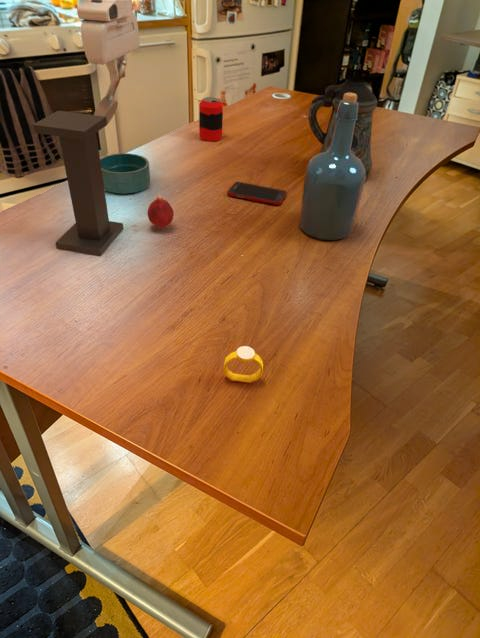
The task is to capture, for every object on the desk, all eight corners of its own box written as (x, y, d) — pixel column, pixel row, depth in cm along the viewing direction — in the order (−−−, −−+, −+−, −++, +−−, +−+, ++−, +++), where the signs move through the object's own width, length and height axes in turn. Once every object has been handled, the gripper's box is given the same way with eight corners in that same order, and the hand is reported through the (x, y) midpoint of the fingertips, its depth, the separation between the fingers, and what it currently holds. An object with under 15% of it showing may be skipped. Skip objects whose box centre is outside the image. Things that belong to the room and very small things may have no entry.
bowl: (91, 191, 119) (87, 168, 115) (112, 172, 129) (109, 150, 125) (139, 198, 117) (137, 176, 113) (157, 178, 127) (156, 157, 123)
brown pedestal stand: (56, 248, 98) (27, 127, 81) (83, 222, 107) (62, 108, 90) (100, 256, 96) (80, 134, 80) (123, 228, 105) (109, 114, 89)
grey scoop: (114, 60, 98) (124, 68, 98) (127, 54, 103) (136, 61, 104) (89, 125, 108) (98, 131, 109) (102, 116, 114) (110, 122, 114)
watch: (222, 384, 71) (223, 357, 67) (223, 371, 73) (225, 344, 69) (261, 387, 71) (264, 360, 67) (261, 374, 73) (264, 347, 69)
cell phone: (279, 206, 118) (280, 203, 117) (226, 195, 121) (226, 192, 120) (287, 194, 123) (287, 191, 123) (235, 184, 127) (235, 181, 126)
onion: (178, 226, 108) (177, 194, 103) (165, 236, 104) (163, 204, 98) (157, 219, 109) (155, 188, 104) (143, 230, 105) (140, 197, 100)
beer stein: (380, 181, 134) (404, 88, 118) (321, 187, 128) (338, 90, 112) (351, 159, 146) (369, 72, 130) (295, 165, 140) (308, 74, 124)
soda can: (205, 143, 150) (206, 104, 142) (195, 135, 155) (195, 97, 147) (226, 140, 153) (227, 101, 145) (215, 133, 158) (216, 95, 150)
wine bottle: (349, 247, 104) (382, 107, 85) (292, 236, 107) (312, 97, 88) (355, 220, 115) (386, 90, 95) (303, 210, 117) (323, 81, 98)
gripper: (116, -2, 103) (123, 67, 112) (72, 9, 87) (84, 88, 96) (143, 1, 102) (148, 70, 111) (103, 12, 87) (112, 91, 96)
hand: (118, 78), depth 104 cm, fingers closed on grey scoop, 1 cm apart
